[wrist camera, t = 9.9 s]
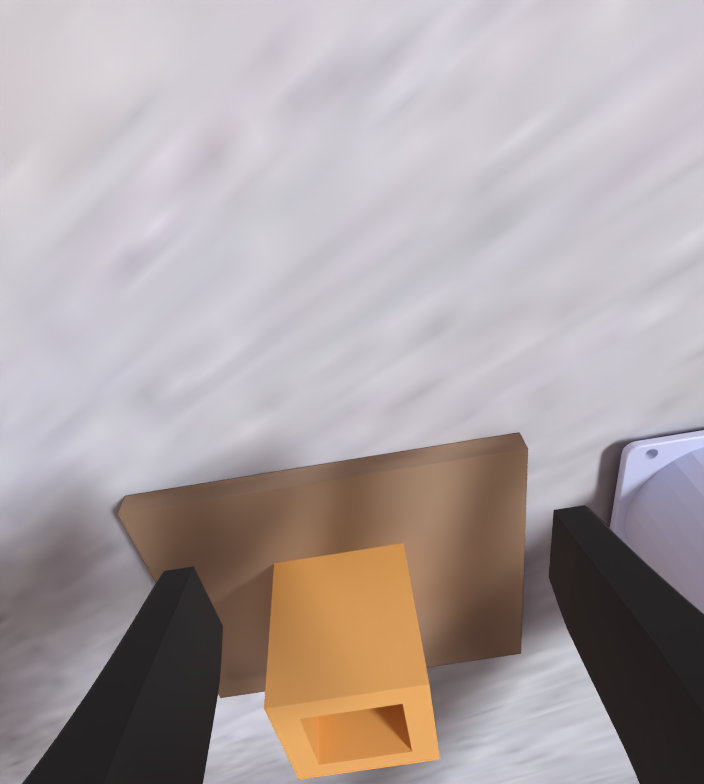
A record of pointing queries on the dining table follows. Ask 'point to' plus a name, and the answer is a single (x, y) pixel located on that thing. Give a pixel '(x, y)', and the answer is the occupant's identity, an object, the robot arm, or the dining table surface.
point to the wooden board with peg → (355, 543)
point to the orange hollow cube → (348, 664)
